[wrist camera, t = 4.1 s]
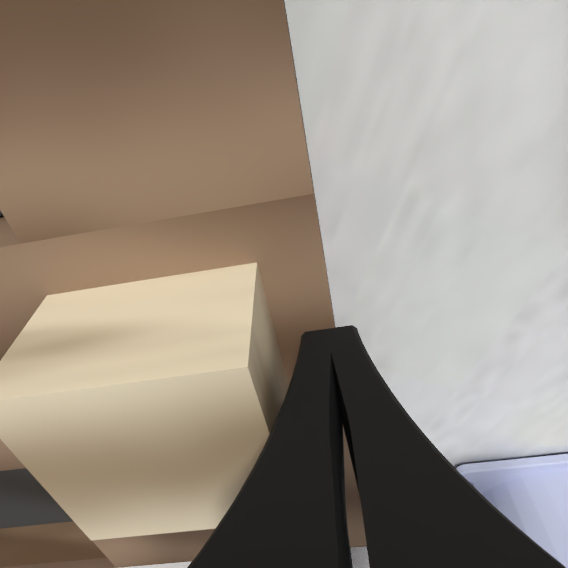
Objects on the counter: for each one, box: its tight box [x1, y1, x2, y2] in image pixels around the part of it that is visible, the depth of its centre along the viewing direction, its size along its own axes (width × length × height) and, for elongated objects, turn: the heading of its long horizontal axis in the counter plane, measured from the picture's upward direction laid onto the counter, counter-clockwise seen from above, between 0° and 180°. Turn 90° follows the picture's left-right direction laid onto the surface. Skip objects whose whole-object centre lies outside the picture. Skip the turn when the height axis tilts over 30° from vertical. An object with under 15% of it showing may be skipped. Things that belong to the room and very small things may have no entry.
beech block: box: [0, 262, 289, 540], centre depth 11 cm, size 6×6×4 cm
